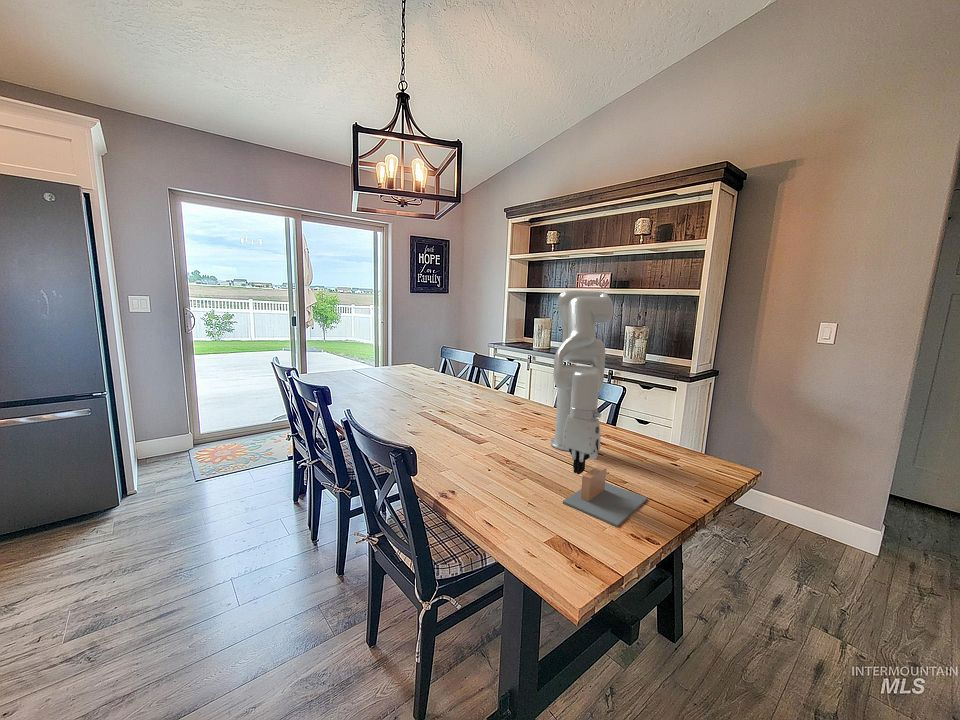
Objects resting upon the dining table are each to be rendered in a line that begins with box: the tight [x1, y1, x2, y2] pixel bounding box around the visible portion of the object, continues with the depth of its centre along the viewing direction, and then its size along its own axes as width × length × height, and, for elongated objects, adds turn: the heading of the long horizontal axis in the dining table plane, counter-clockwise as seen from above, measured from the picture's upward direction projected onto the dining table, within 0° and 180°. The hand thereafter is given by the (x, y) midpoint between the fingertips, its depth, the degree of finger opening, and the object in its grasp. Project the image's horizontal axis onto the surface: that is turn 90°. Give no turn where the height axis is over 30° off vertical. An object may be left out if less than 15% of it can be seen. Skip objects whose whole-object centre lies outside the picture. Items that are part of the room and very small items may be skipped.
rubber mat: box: [562, 481, 648, 528], centre depth 112 cm, size 20×16×1 cm
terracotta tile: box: [580, 465, 607, 502], centre depth 114 cm, size 10×2×7 cm, turn 137°
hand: (578, 472), depth 117 cm, fingers closed
